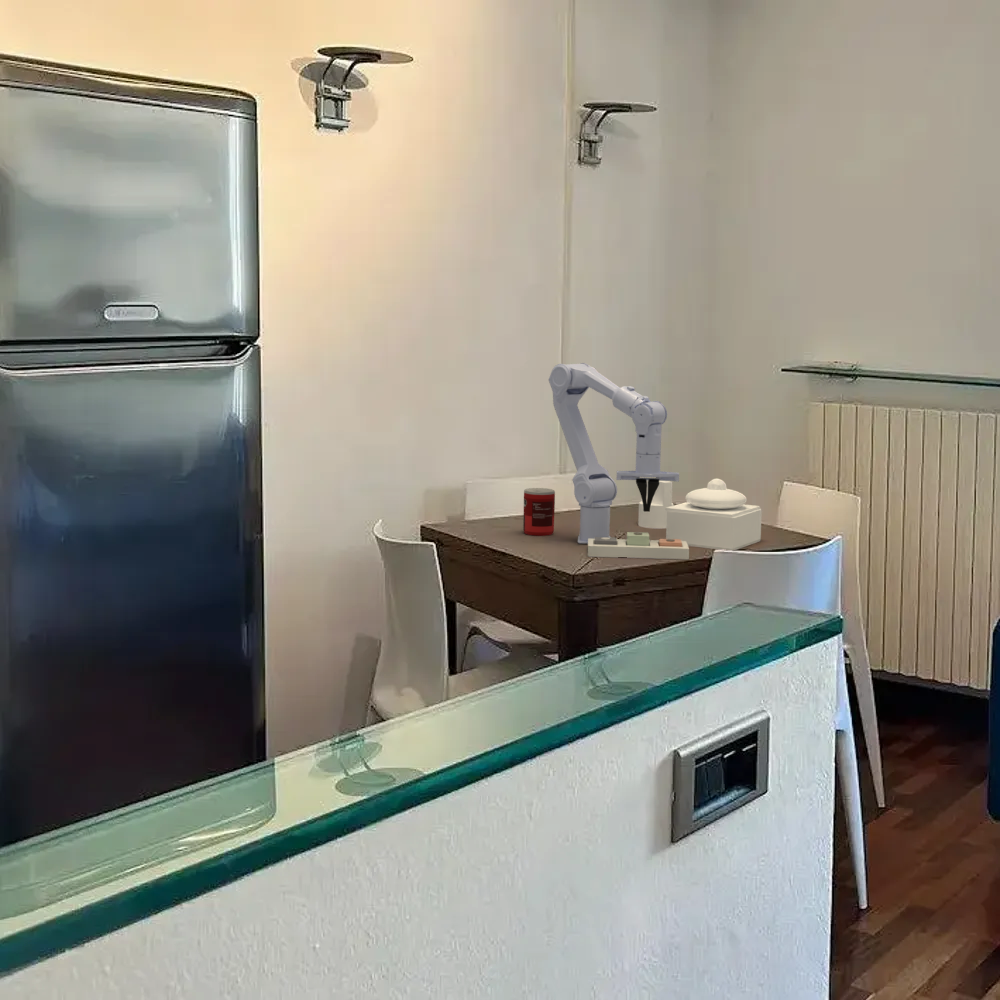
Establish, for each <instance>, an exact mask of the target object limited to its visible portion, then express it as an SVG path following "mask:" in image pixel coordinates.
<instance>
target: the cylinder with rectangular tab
mask: <svg viewBox="0 0 1000 1000" xmlns="http://www.w3.org/2000/svg"><path fill="white" fill-rule="evenodd" d="M647 497H648V480H647V496H646V500H647ZM674 505H675V504H674V503H673V481H659V486H658V488H657V490H656V492H655V494H654V497H653V499H652V502H651V506H650V512H644V511H643V501H642V497H641V496H640V501H639V502H638V519H637V520H638V521H637V522H638V527H641V528H646V529H654V530H655V529H656V530H657V529H660V530H661V529H666V525H667V511H665V508H667V507H670V506H674Z"/></svg>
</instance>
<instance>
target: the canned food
mask: <svg viewBox="0 0 1000 1000" xmlns="http://www.w3.org/2000/svg"><path fill="white" fill-rule="evenodd" d="M555 495H556V491H555V490H554V489H552V488H544V487H530V488H526V489H524V490H523V525H522V526H523V527H522V528H523V529H522V530H523V532H524V534H525V535H528V536H534V537H535V536H536V537H545V536H551V535H553V534H554V531H555V508H556V507H555V506H556V505H555V504H556V503H555V502H556V496H555Z"/></svg>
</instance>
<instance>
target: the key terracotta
mask: <svg viewBox="0 0 1000 1000" xmlns="http://www.w3.org/2000/svg"><path fill="white" fill-rule="evenodd" d="M658 540H659V546H670V547H682V542H681V539H666V538H658Z"/></svg>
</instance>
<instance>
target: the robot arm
mask: <svg viewBox="0 0 1000 1000" xmlns="http://www.w3.org/2000/svg"><path fill="white" fill-rule="evenodd" d="M548 382H549V385H550V388H551V391H552V402H553V403H552V404H553V407H554V410H555V413H556V416H557V419H558V422H559V424H560V427H561V430H562V433H563V435H564V438H565V441H566V444H567V447H568V449H569V452H570V454H571V457H572V460H573V464H574V466H575V469H576V473H575V475H574V476H573V478H572V479H571V480H572V483H573V488H574V490H573V494H574V497H575V500H576V502H577V503H578V506H580V507H579V508H580V510H579V511H580V512H579V516H580V517H579V519H580V520H579V535H578V537H577V543H578V544H587V545H588V538H591V539H595V537H611V535H610V529H611V528H610V526H611V525H610V523H611V506H612V504H613V501H614V500H615V499H616V497H617V495H618V494H617V493H618V486H617V483H616V481H635V483H636V486H637V489H638V491H639V494H640V498H641V497H642V501H643V511H644V512H650V506H651V502H652V499H653V497H654V494H655V492H656V490H657V488H658V486H659V481H670V482H677V483H678V482H679V481H680V472H679V471H678V472H675V471H661V457H662V451H661V450H662V428H663V427H662V425H664V423H666V420H667V418H668V410H667V408H666V406H665V405H664V404H663V403H662V402H661V401H659V400H653V401H651V400H650V397H649V396H647V395H642V394H641V393H638V392H637V391H635V390H636V388H635V387H634V386H632V385H628V386H627V385H623V386H618V385H617V384H616V383H614V382H613V381H611V380H610V379H609V378H607V377H606V376H604V374H601V373H600V371H599V372H598V371H597V369H596V368H595V367H593V366H591V365H589V364H588V363H585V362H582V363H581V362H580V363H570V364H567V363H565V364H564V363H558V364H556V365H555V366H553V368H552V370H551V372H550V374H549V378H548ZM589 389H592V390H594V391H595V392H596V393H597V392H598V393H599V394H601V395H603V396H605V397H606V398H609V399H610V400H612V405H613V407H614V408H615V409H616V410H619V411H620V412H622V413H623V414H624V415H626V416H628V417H630V418H631V420H632V421H633V423H634V426H635V427H634V428H635V432H636V433H635V434H636V446H635V447H636V448H635V450H636V453H635V470H617V471H616V478H615V479H616V481H615V480H614V479H613V478H612V477H611V476H610V475H611V474H610V473H609V471H608V469H607V468H605V467H604V466H603V465H601V464H600V463H599V461H598V458H597V456H596V452H595V450H594V447H593V445H592V442H591V440H590V436H589V433H588V431H587V429H586V425H585V422H584V421H583V418H582V414H581V412H580V409H579V406H578V405H579V401H580V400H581V399H582V398H583V397H584V395H585V394H586V392H587V391H588V390H589ZM647 480H648V497H647V500H646V496H647Z"/></svg>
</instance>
